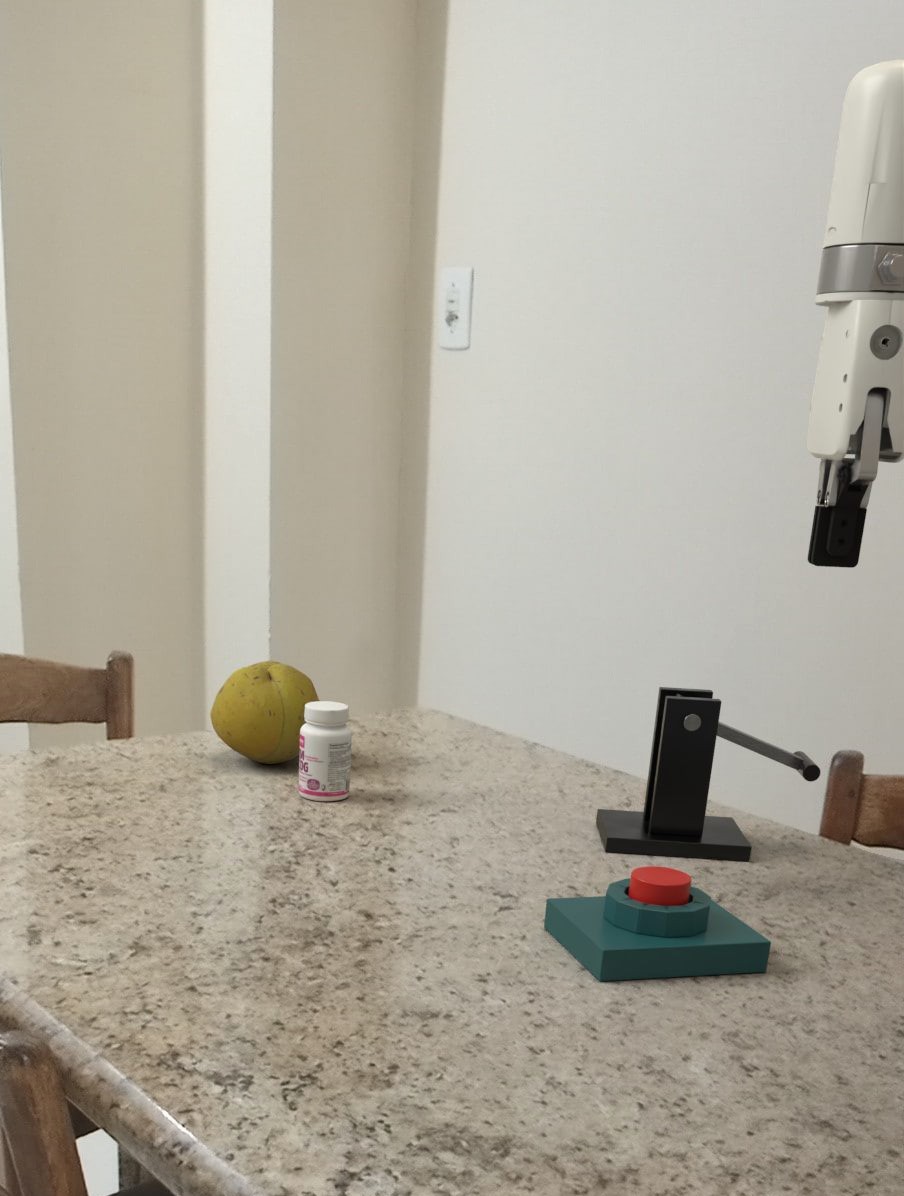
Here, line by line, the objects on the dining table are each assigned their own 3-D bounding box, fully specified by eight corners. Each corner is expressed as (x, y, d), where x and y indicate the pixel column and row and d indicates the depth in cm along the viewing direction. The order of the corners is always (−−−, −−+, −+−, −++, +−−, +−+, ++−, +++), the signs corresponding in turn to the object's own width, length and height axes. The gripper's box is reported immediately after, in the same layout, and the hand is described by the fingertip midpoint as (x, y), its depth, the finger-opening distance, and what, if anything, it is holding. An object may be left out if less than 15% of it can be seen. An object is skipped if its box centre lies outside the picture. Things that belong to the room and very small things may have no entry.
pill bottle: (287, 793, 128) (289, 702, 125) (326, 786, 131) (329, 698, 128) (320, 805, 125) (323, 712, 121) (359, 797, 128) (363, 707, 124)
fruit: (344, 761, 140) (348, 662, 137) (275, 782, 131) (277, 677, 128) (258, 743, 146) (260, 648, 142) (186, 762, 137) (186, 661, 133)
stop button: (672, 889, 95) (675, 865, 95) (698, 908, 92) (702, 883, 91) (618, 891, 94) (621, 866, 94) (643, 910, 91) (646, 885, 90)
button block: (697, 920, 100) (704, 868, 99) (766, 972, 91) (776, 915, 90) (543, 927, 97) (548, 873, 96) (599, 981, 88) (606, 923, 87)
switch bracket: (730, 831, 123) (752, 688, 118) (749, 861, 115) (773, 708, 110) (595, 822, 124) (612, 679, 119) (605, 852, 115) (623, 699, 110)
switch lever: (798, 774, 119) (812, 749, 118) (812, 789, 114) (826, 763, 113) (661, 715, 118) (674, 689, 117) (669, 728, 113) (682, 701, 112)
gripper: (972, 273, 85) (917, 580, 92) (899, 292, 99) (856, 557, 105) (849, 269, 85) (803, 575, 92) (794, 288, 99) (757, 553, 106)
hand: (831, 565), depth 99 cm, fingers closed
